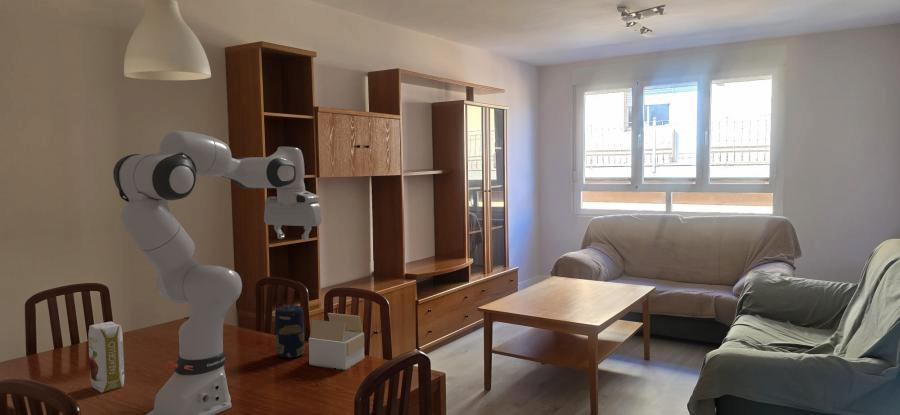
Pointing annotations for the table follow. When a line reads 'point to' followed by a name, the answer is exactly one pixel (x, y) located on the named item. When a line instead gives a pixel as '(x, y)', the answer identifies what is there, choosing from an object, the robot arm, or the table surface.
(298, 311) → the canister
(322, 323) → the flap near
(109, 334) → the juice carton
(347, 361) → the carton
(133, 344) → the table surface
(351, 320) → the flap far
